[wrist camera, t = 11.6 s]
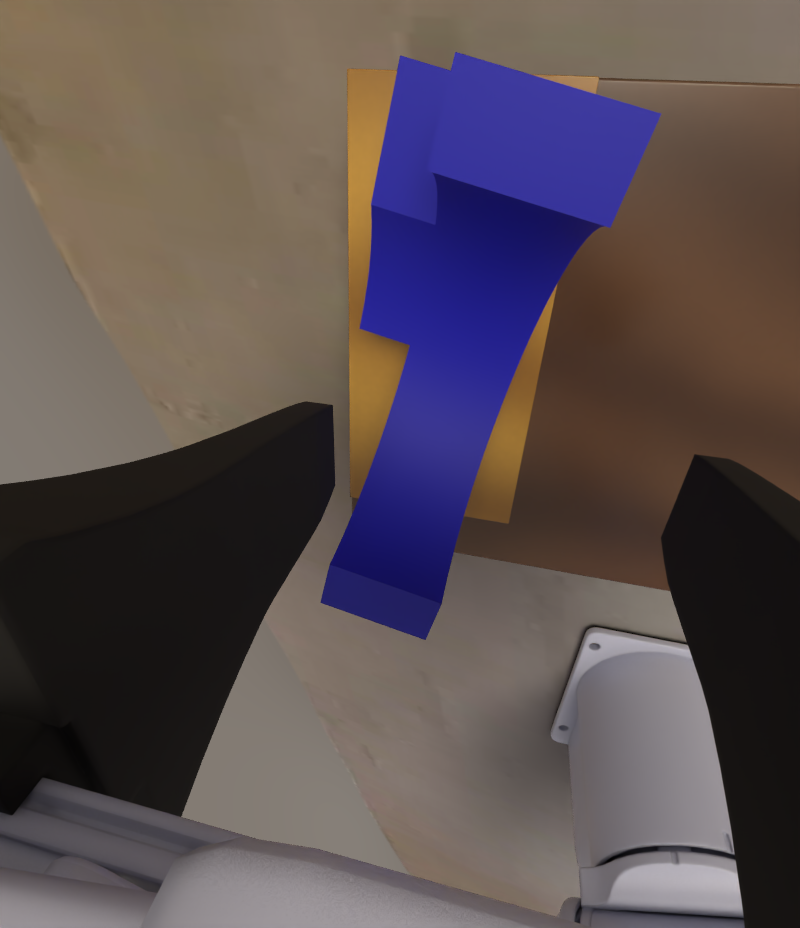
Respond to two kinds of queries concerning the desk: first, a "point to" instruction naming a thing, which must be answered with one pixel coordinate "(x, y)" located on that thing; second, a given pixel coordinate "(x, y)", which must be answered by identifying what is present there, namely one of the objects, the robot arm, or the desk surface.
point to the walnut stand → (626, 334)
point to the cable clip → (465, 296)
